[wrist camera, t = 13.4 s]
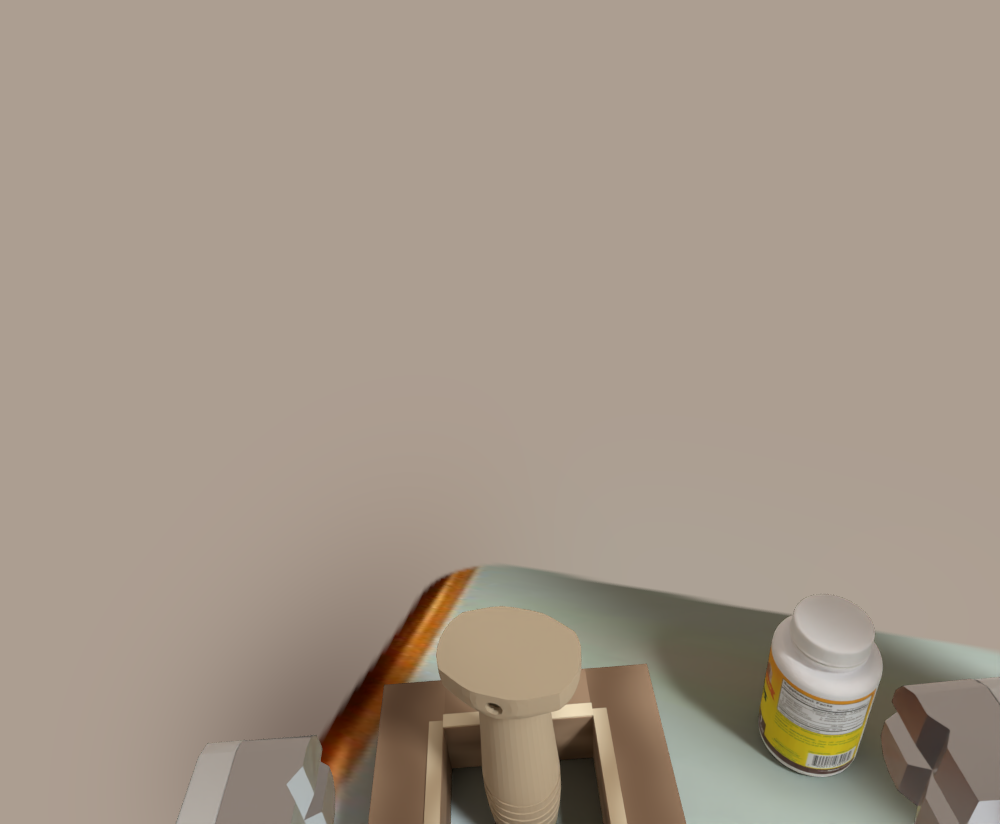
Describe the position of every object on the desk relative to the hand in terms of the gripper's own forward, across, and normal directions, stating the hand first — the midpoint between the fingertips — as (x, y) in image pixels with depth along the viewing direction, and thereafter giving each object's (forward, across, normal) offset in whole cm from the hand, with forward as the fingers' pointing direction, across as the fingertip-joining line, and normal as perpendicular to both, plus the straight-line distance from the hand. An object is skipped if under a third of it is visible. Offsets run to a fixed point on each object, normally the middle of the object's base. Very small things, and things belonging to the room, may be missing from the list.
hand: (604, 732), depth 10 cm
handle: (+15, +2, +32) cm, 35 cm away
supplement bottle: (+19, -15, +32) cm, 40 cm away
